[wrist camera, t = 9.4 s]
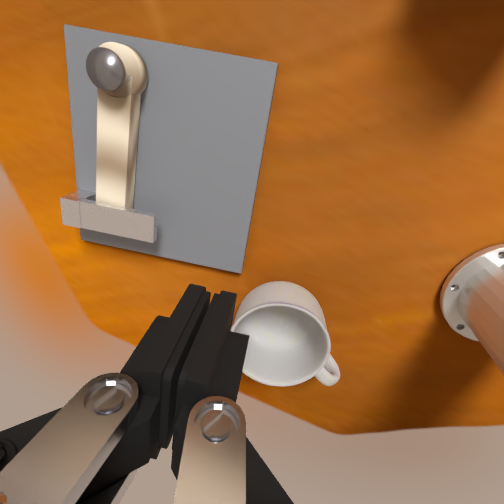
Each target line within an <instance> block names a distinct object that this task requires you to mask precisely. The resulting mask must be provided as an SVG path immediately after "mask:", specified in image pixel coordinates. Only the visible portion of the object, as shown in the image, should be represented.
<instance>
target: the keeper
mask: <svg viewBox="0 0 504 504" xmlns="http://www.w3.org/2000/svg"><path fill="white" fill-rule="evenodd" d="M60 202H61V212H62V221H63V225H68V226H72V227H77V228H84V229H89V230H94V231H98V232H103V233H108V234H113V235H117V236H122V237H127V238H132V239H136V240H141V241H146V242H151V243H154V242H155V241H156V240H157V214H155V213H151V212H146V211H141V210H136V209H131V208H126V207H121V206H117V205H112V204H107V203H102V202H97V201H96V192H94V191H89V190H84V189H80V190H77V191H75V192H73V193H70V194H68V195H65V196H63V197H61V198H60Z"/></svg>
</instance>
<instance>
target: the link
mask: <svg viewBox="0 0 504 504" xmlns="http://www.w3.org/2000/svg"><path fill="white" fill-rule="evenodd" d="M86 71H87V74H88V76H89V78H90V80H91V81H92V83H93V84H94V85H95V86H96V87H98V88H97V159H96V201H97V202H102V203H107V204H112V205H117V206H121V207H126V208H131V209H133V201H134V186H135V172H136V158H137V143H138V129H139V115H140V100H141V94H142V93H143V92H144V90H145V88H146V86H147V83H148V69H147V66H146V63H145V61H144V59H143V58H142V56H141V55H140V54H139V53H138V52H137V51H136V50H135V49H133V48H131V47H129V46H126V45H123V44H119V43H116V42H106V43H103V44H101V45H100V46H99V47H97V48H94V49H93V50H91V51H90V53H89V54H88V56H87V59H86Z"/></svg>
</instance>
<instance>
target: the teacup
mask: <svg viewBox="0 0 504 504" xmlns="http://www.w3.org/2000/svg"><path fill="white" fill-rule="evenodd" d="M231 331H232V332H237V333H241V334H246V335H250V336H249V341H248V346H247V351H246V356H245V361H244V365H243V370H242V372H243V373H244V374H245V375H247V376H248V377H250V378H251V379H253V380H256V381H258V382H260V383H263V384H266V385H270V386H292V385H296V384H300V383H302V382H305V381H307V380H309V379H311V378H312V377H314V376H315V377H316V378H317V379H318V380H319V381H320V382H321V383H322V384H324V385H326V386H332V385H334V384H335V383H337V382H338V380H339V378H340V371H339V367H338V365H337V364H336V362H335V360H334V359H333V357H332V356H331V355H330V349H331V342H330V337H329V334H328V331H327V327H326V322H325V318H324V315H323V312H322V309H321V307H320V305H319V303H318V301H317V300H316V298H315V297H314V296H313V295H312V294H311V293H310V292H309V291H307V290H306V289H305V288H303V287H301V286H299V285H297V284H294V283H291V282H286V281H273V282H268V283H265V284H262V285H260V286H258V287H256V288H254V289H253V290H252V291H250V292H249V293H248V294H247V295H246V297H245V298H244V299H243V301H242V302H241V304H240V306H239V309H238V311H237V314H236V317H235V320H234V323H233V326H232V328H231Z"/></svg>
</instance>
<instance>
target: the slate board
mask: <svg viewBox="0 0 504 504" xmlns="http://www.w3.org/2000/svg"><path fill="white" fill-rule="evenodd" d="M64 34H65V46H66V58H67V71H68V83H69V96H70V108H71V120H72V133H73V145H74V158H75V170H76V182H77V190H80V189H84V190H89V191H94V192H96V159H97V88H98V87H96V86H95V85H94V84H93V83H92V81H91V80H90V78H89V76H88V74H87V71H86V59H87V56H88V54H89V53H90V51H91V50H93V49H94V48H97V47H99V46H100V45H101V44H103V43H106V42H116V43H119V44H123V45H126V46H129V47H131V48H133V49H135V50H136V51H137V52H138V53H139V54H140V55H141V56H142V58H143V59H144V61H145V63H146V66H147V69H148V83H147V86H146V88H145V90H144V92H143V93H142V94H141V100H140V115H139V129H138V143H137V158H136V172H135V186H134V201H133V209H136V210H141V211H146V212H151V213H155V214H157V240H156V241H155V242H154V243H151V242H146V241H141V240H136V239H132V238H127V237H122V236H117V235H113V234H108V233H103V232H98V231H94V230H89V229H84V228H80V232H81V240H85V241H90V242H94V243H99V244H104V245H109V246H113V247H118V248H123V249H127V250H132V251H137V252H142V253H146V254H151V255H156V256H160V257H165V258H170V259H174V260H179V261H184V262H189V263H193V264H198V265H203V266H207V267H212V268H217V269H222V270H226V271H231V272H236V273H240V274H241V272H242V269H243V263H244V258H245V252H246V246H247V240H248V235H249V229H250V223H251V218H252V212H253V206H254V201H255V195H256V189H257V184H258V178H259V172H260V166H261V161H262V155H263V149H264V144H265V138H266V132H267V127H268V121H269V115H270V110H271V104H272V98H273V92H274V87H275V81H276V75H277V70H278V63H275V62H269V61H264V60H258V59H253V58H247V57H242V56H236V55H231V54H225V53H220V52H214V51H209V50H203V49H198V48H192V47H187V46H181V45H176V44H170V43H165V42H159V41H154V40H148V39H142V38H137V37H131V36H126V35H120V34H115V33H109V32H104V31H98V30H93V29H87V28H82V27H76V26H71V25H65V24H64Z"/></svg>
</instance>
